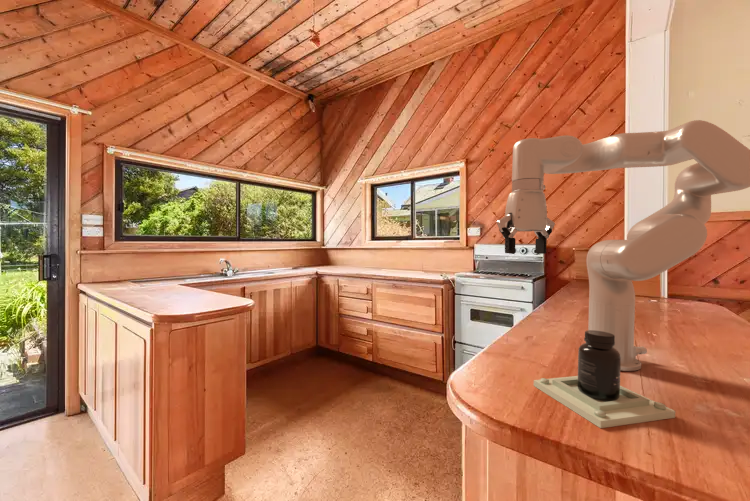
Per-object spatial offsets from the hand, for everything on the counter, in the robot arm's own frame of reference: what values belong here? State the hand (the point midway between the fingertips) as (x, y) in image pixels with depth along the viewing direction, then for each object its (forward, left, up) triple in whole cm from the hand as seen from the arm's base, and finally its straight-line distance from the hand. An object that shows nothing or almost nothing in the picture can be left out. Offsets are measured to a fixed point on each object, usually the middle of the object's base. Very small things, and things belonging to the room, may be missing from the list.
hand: (525, 253), depth 84 cm
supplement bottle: (+1, +23, -27) cm, 35 cm away
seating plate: (+1, +23, -28) cm, 36 cm away
